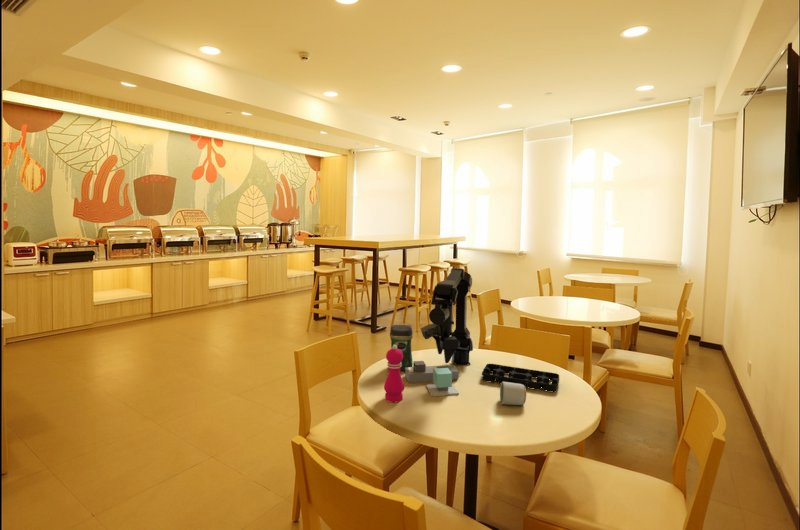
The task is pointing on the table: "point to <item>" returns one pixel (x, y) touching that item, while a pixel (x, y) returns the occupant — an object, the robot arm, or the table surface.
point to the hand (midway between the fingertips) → (443, 358)
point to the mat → (435, 392)
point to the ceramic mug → (512, 393)
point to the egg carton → (521, 376)
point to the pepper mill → (394, 376)
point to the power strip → (425, 372)
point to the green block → (442, 378)
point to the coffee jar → (402, 343)
